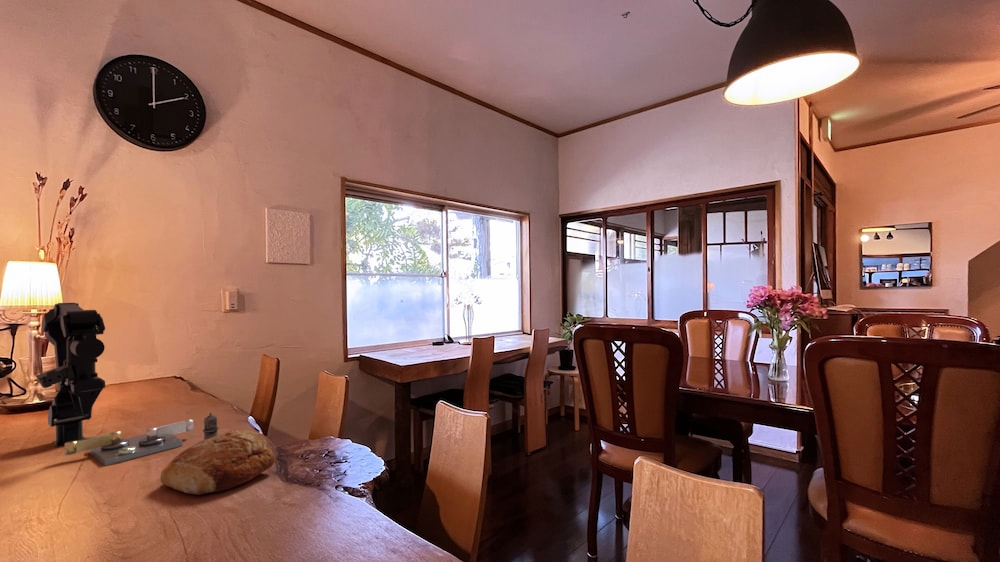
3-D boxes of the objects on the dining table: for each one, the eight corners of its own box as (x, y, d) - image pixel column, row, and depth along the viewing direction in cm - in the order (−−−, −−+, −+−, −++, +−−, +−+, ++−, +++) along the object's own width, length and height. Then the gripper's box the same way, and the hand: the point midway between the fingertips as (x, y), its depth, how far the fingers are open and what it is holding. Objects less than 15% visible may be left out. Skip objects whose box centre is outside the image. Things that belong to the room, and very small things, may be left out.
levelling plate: (89, 452, 122) (89, 443, 122) (163, 434, 136) (163, 426, 136) (104, 466, 113) (104, 456, 113) (182, 445, 126) (182, 436, 126)
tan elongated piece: (126, 440, 127) (125, 427, 127) (132, 444, 123) (132, 431, 123) (62, 455, 116) (62, 441, 116) (67, 460, 113) (67, 445, 113)
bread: (277, 468, 110) (277, 429, 110) (208, 504, 93) (208, 457, 93) (218, 459, 117) (218, 421, 117) (143, 490, 100) (143, 446, 100)
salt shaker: (211, 461, 115) (210, 416, 115) (192, 460, 116) (191, 415, 116) (229, 453, 120) (228, 409, 120) (211, 451, 122) (210, 408, 122)
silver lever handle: (142, 447, 121) (142, 433, 121) (135, 442, 125) (135, 429, 125) (197, 433, 132) (196, 421, 132) (189, 429, 135) (189, 417, 135)
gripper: (32, 356, 120) (33, 412, 120) (46, 364, 109) (47, 426, 109) (87, 350, 129) (88, 403, 129) (105, 357, 118) (105, 415, 118)
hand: (81, 411), depth 121 cm, fingers open, 8 cm apart
